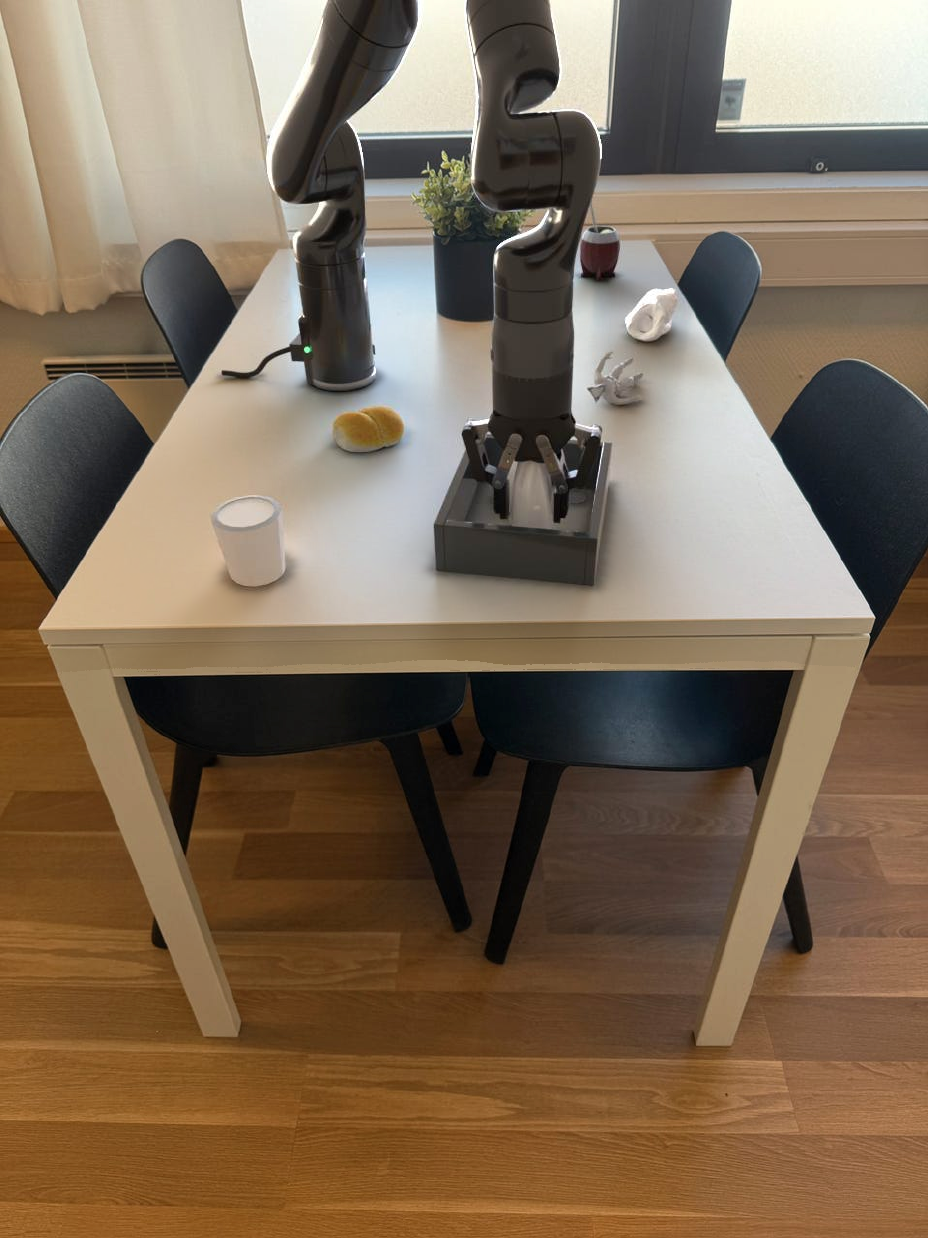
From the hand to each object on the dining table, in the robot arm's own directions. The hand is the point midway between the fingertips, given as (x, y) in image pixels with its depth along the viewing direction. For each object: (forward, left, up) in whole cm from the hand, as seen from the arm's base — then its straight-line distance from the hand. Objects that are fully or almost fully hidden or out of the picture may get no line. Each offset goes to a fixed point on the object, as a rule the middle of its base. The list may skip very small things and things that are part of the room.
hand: (530, 516), depth 92 cm
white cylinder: (-27, -10, -3) cm, 29 cm away
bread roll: (-24, +20, -3) cm, 31 cm away
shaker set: (-1, +3, -3) cm, 4 cm away
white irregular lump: (+10, +63, -3) cm, 64 cm away
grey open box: (-1, +3, -3) cm, 4 cm away
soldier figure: (+6, +38, -3) cm, 39 cm away
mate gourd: (-1, +90, -3) cm, 90 cm away
